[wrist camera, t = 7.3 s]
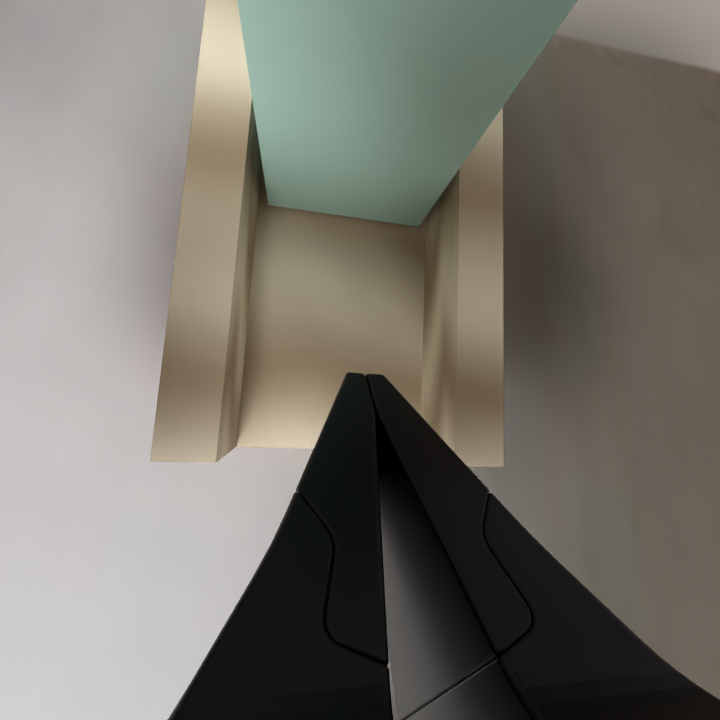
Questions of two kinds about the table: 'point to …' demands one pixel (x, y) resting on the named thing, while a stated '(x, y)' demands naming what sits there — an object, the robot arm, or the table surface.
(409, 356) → the chute
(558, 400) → the table surface
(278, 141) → the sage block
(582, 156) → the table surface
